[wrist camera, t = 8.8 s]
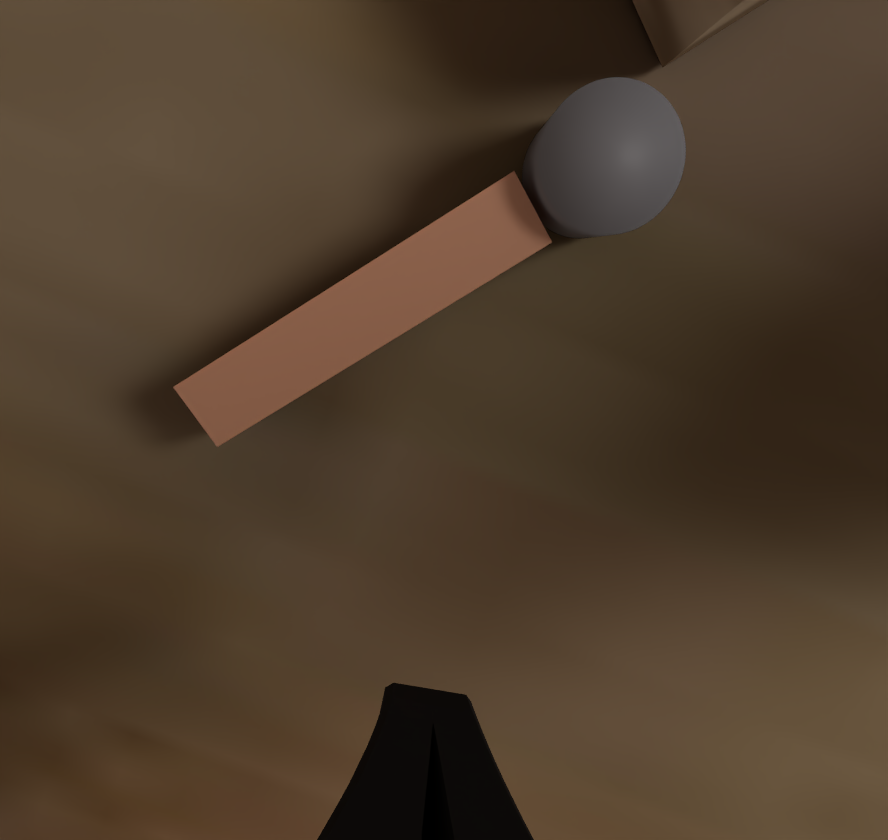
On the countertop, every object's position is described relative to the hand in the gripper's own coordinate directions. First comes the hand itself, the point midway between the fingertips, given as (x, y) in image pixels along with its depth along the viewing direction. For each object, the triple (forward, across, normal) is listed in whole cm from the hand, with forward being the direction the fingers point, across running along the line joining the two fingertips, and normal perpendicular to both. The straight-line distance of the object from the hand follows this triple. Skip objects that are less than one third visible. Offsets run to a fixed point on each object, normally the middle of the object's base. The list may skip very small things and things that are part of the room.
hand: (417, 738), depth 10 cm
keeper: (+6, +2, -7) cm, 9 cm away
